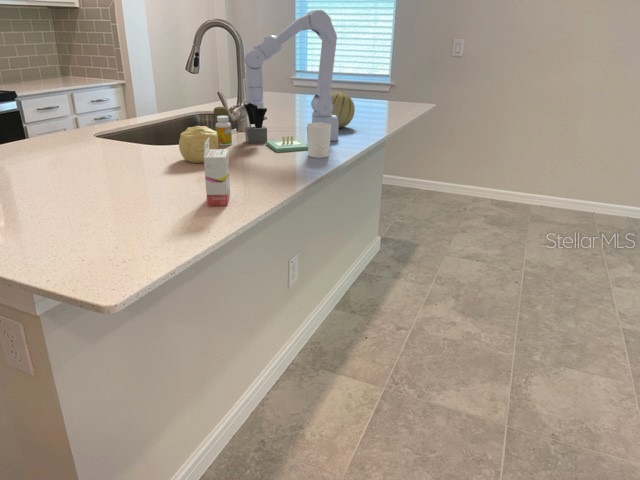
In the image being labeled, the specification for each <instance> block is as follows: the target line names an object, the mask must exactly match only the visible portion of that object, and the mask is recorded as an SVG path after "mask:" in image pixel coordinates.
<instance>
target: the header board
mask: <svg viewBox="0 0 640 480" xmlns="http://www.w3.org/2000/svg"><path fill="white" fill-rule="evenodd" d="M265 143H266V146H267V147H269V148H270V149H272V151H274V152H276V153H283V152H284V153H285V152H286V153H287V152H299V151H308V144H307V143H305V142H304V141H302V140H300V139H297V138H296V139H294V136H293V135H291V136H286V137H285V136H282V139H281V140H267V141H266V142H265Z"/></svg>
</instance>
